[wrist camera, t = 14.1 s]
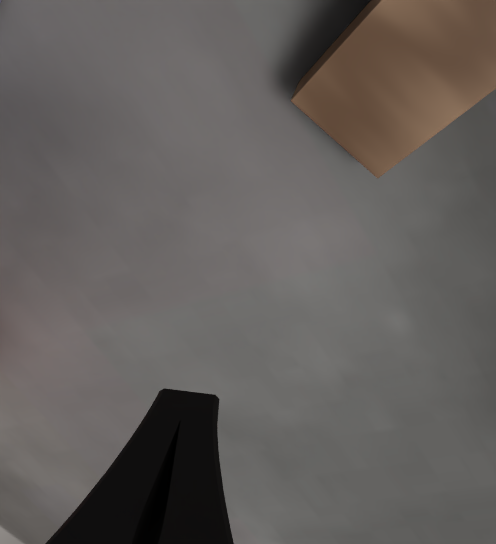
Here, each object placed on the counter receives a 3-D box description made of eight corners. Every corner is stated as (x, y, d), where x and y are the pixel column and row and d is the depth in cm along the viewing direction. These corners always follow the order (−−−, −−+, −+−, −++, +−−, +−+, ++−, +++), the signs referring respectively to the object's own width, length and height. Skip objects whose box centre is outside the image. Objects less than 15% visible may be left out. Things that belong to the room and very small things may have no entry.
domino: (290, 100, 14) (500, -132, 10) (299, 81, 15) (493, -138, 11) (377, 178, 16) (604, 5, 11) (380, 155, 17) (589, -12, 12)
